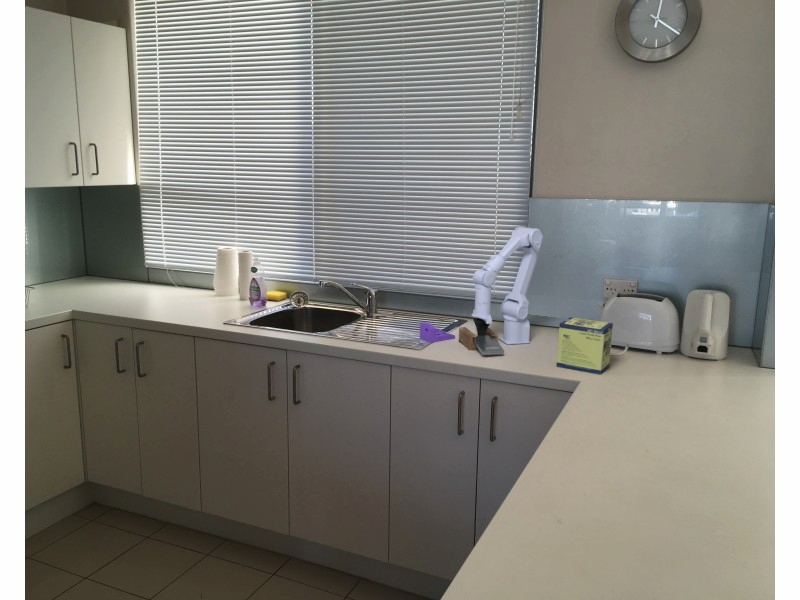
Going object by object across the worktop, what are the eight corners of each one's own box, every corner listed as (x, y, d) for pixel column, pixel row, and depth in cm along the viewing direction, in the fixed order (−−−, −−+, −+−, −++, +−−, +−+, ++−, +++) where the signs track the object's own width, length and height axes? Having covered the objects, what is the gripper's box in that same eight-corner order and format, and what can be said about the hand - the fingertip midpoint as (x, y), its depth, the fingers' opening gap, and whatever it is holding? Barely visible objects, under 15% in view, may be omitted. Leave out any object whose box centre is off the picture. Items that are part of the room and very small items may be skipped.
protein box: (601, 375, 222) (605, 329, 219) (555, 366, 230) (558, 322, 227) (610, 367, 231) (613, 322, 228) (565, 359, 239) (568, 316, 236)
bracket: (430, 343, 257) (430, 326, 255) (419, 339, 262) (420, 322, 261) (455, 339, 263) (455, 322, 262) (444, 335, 269) (444, 318, 267)
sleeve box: (485, 340, 262) (486, 326, 261) (497, 348, 250) (498, 334, 249) (458, 341, 259) (459, 327, 258) (469, 350, 248) (469, 335, 247)
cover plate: (492, 338, 251) (492, 334, 250) (503, 354, 240) (504, 349, 240) (471, 339, 249) (472, 334, 248) (482, 355, 239) (483, 350, 238)
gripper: (465, 298, 254) (464, 333, 257) (479, 307, 240) (478, 343, 243) (483, 297, 255) (482, 332, 258) (498, 306, 242) (496, 342, 245)
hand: (481, 338), depth 251 cm, fingers closed
